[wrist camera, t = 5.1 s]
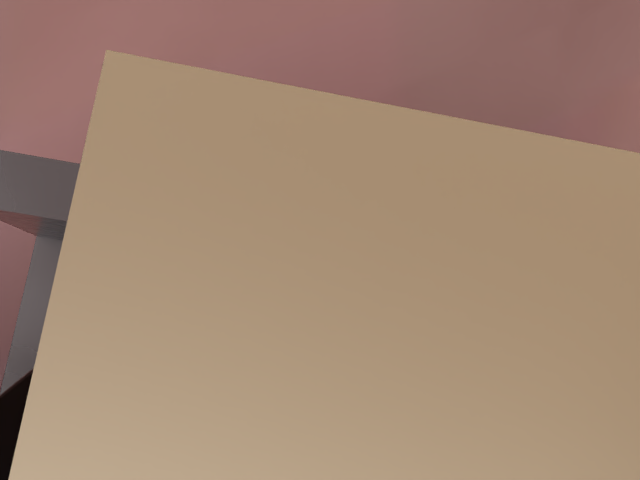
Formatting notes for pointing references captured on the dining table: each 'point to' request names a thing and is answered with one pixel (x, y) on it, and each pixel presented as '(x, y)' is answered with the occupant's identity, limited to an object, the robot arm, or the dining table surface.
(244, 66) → the dining table surface
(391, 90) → the dining table surface
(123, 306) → the birch board
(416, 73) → the dining table surface
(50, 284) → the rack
